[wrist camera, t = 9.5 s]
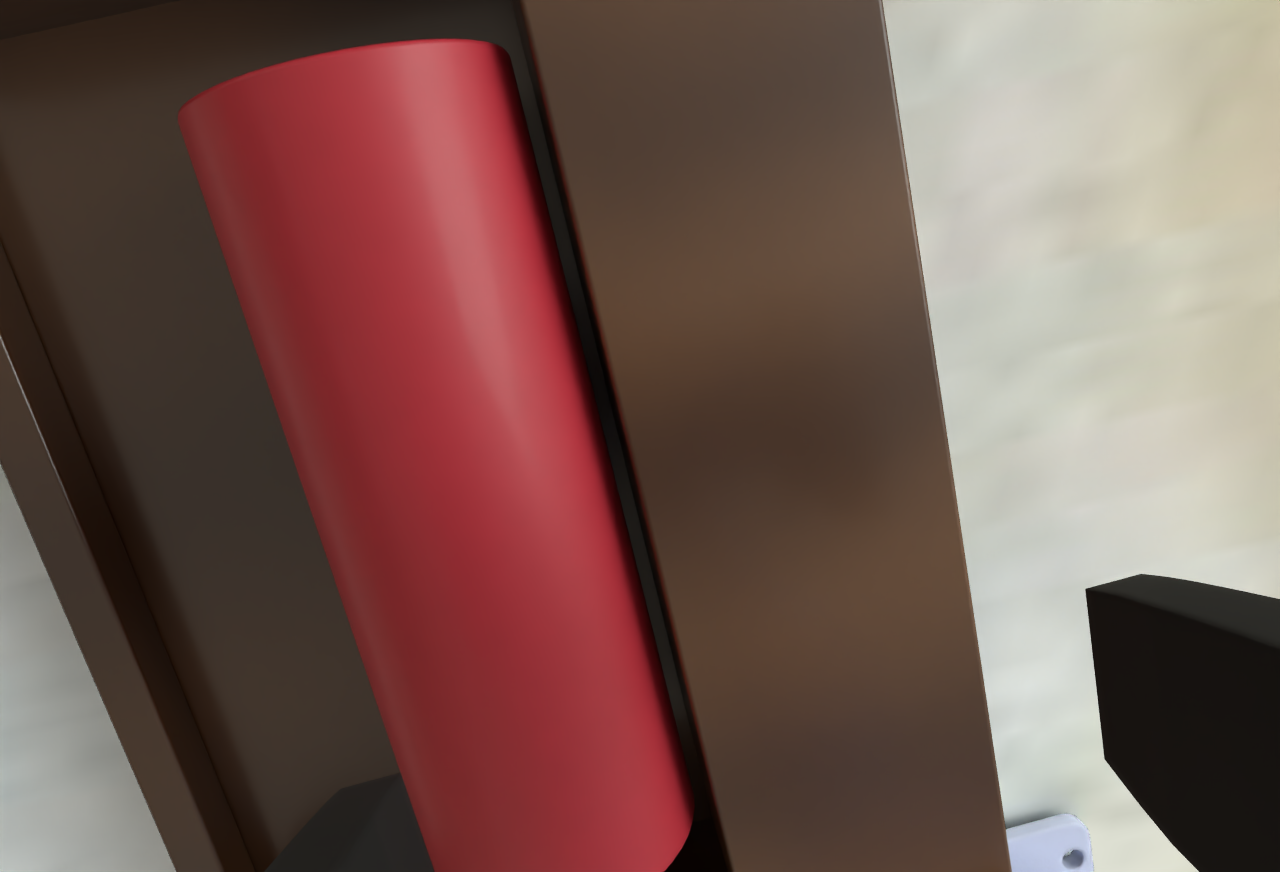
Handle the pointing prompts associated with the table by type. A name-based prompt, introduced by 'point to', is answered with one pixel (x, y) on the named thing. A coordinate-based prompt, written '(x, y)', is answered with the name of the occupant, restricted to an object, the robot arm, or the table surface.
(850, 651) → the dark wooden tray
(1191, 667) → the robot arm
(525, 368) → the red cylinder
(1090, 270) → the table surface
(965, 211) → the table surface
